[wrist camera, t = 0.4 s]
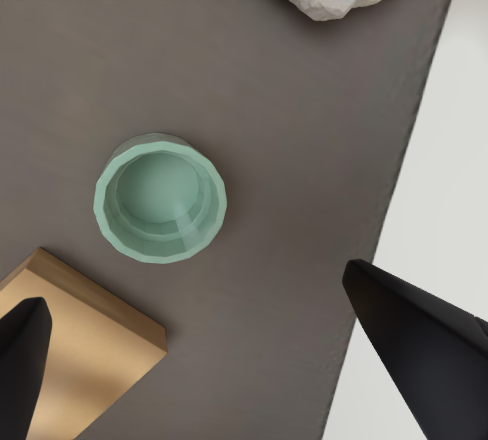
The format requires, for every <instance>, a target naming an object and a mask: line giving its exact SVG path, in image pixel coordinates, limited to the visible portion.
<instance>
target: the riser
mask: <svg viewBox="0 0 488 440" xmlns="http://www.w3.org/2000/svg"><path fill="white" fill-rule="evenodd" d="M31 297H43V298H44V299H45V300H46V303H47V306H48V308H49V311H50V314H51V317H52V322H53V325H52V332H51V338H50V343H49V349H48V355H47V361H46V366H45V372H44V377H43V382H42V387H41V390H40V394H39V397H38V401H37V404H36V407H35V411H34V414H33V417H32V421H31V424H30V428H29V431H28V434H27V438H26V440H73V439H75V438H76V437H77V436H78V435H79V434H80V433H81V432H82V431H83V430H84V429H86V428H87V427H88V426H89V425H90V424H91V423H92V422H93V421H94V420H95V419H96V418H98V417H99V416H100V415H101V414H102V413H103V412H104V411H105V410H106V409H107V408H108V407H110V406H111V405H112V404H113V403H114V402H115V401H116V400H117V399H118V398H119V397H121V396H122V395H123V394H124V393H125V392H126V391H127V390H128V389H129V388H130V387H131V386H133V385H134V384H135V383H136V382H137V381H138V380H139V379H140V378H141V377H142V376H143V375H145V374H146V373H147V372H148V371H149V370H150V369H151V368H152V367H153V366H154V365H155V364H157V363H158V362H159V361H160V360H161V359H162V358H163V357H164V356H165V355H166V354H167V353H168V350H167V342H166V333H165V328H164V327H162V326H161V325H159V324H158V323H156V322H155V321H153V320H152V319H150V318H149V317H147V316H145V315H144V314H142V313H141V312H139V311H138V310H136V309H135V308H133V307H132V306H130V305H128V304H127V303H125V302H124V301H122V300H121V299H119V298H118V297H116V296H115V295H113V294H111V293H110V292H108V291H107V290H105V289H104V288H102V287H101V286H99V285H98V284H96V283H94V282H93V281H91V280H90V279H88V278H87V277H85V276H84V275H82V274H81V273H79V272H77V271H76V270H74V269H73V268H71V267H70V266H68V265H67V264H65V263H64V262H62V261H60V260H59V259H57V258H56V257H54V256H53V255H51V254H50V253H48V252H47V251H45V250H43V249H42V248H40V247H38V248H37V249H36V250H35V251H34V252H33V253H32V254H31V255H30V256H29V257H27V258H26V259H25V260H24V261H23V262H22V263H21V264H20V265H19V266H18V267H17V268H16V269H15V270H14V271H12V272H11V273H10V274H9V275H8V276H7V277H6V278H5V279H4V280H3V281H2V282H1V283H0V319H1V318H2V317H3V316H4V315H5V314H6V313H8V312H9V311H10V310H11V309H12V308H14V307H15V306H16V305H17V304H18V303H19V302H21V301H22V300H23V299H25V298H31Z"/></svg>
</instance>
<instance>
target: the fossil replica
mask: <svg viewBox="0 0 488 440" xmlns="http://www.w3.org/2000/svg"><path fill="white" fill-rule="evenodd" d="M289 1H290V2H292V3H293V4H295V5H296V6H297V7H298V9H299V10H301V11H302V12H304V13H305V14H306V15H308V16H309V17H310V18H311V19H313V20H314V21H327V20H330V19H342V18H343V17H344V16H345V15H346V14H347V13H348V12H349V10H350V9H351V8H357V7H359V6H360V7H365V6H368V5H373V4H376V3H378V2H379V1H381V0H289Z"/></svg>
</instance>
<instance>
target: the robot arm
mask: <svg viewBox="0 0 488 440" xmlns="http://www.w3.org/2000/svg"><path fill="white" fill-rule="evenodd" d="M342 284H343V287H344V289H345V291H346V293H347V296H348V298H349V300H350V302H351V304H352V307H353V309H354V311H355V313H356V315H357V318H358V320H359V322H360V324H361V325H362V328H363V329H364V331H365V333H366V335H367V336H368V338H369V340H370V342H371V343H372V345H373V347H374V349H375V350H376V352H377V354H378V355H379V357H380V359H381V361H382V362H383V364H384V366H385V367H386V369H387V371H388V372H389V374H390V376H391V378H392V380H393V381H394V383H395V385H396V386H397V388H398V390H399V392H400V393H401V395H402V397H403V398H404V400H405V402H406V404H407V405H408V407H409V409H410V410H411V412H412V414H413V416H414V417H415V419H416V421H417V422H418V424H419V426H420V428H421V430H422V431H423V433H424V435H425V436H426V438H427V440H488V322H486V321H484V320H483V319H480V318H479V317H474V315H472V314H470V313H468V312H466V311H464V310H462V309H460V308H458V307H456V306H454V305H452V304H450V303H448V302H446V301H444V300H442V299H440V298H438V297H436V296H434V295H432V294H430V293H428V292H426V291H424V290H422V289H420V288H418V287H416V286H414V285H412V284H410V283H408V282H406V281H404V280H402V279H400V278H398V277H396V276H394V275H392V274H390V273H388V272H386V271H384V270H382V269H380V268H378V267H376V266H374V265H372V264H370V263H368V262H366V261H364V260H362V259H354V260H349V261H348V262H347V265H346V268H345V271H344V274H343V278H342ZM52 325H53V322H52V317H51V314H50V311H49V308H48V306H47V303H46V300H45V299H44V298H43V297H31V298H25V299H23V300H22V301H21V302H19V303H18V304H17V305H16V306H15V307H14V308H12V309H11V310H10V311H9V312H8V313H6V314H5V315H4V316H3V317H2V318H1V319H0V440H26V438H27V434H28V431H29V428H30V424H31V421H32V417H33V414H34V411H35V407H36V404H37V401H38V397H39V394H40V390H41V387H42V382H43V377H44V372H45V366H46V361H47V355H48V349H49V343H50V338H51V332H52Z"/></svg>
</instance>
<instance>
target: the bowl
mask: <svg viewBox="0 0 488 440" xmlns="http://www.w3.org/2000/svg"><path fill="white" fill-rule="evenodd" d="M226 208H227V200H226V193H225V186H224V182H223V180H222V178H221V177H220V175H219V173H218V172H217V170H216V169H215V167H214V165H213V164H212V162H211V161H210V160H209V159H207V158H206V157H205V156H204V155H203V154H202V153H201V152H200V151H198V150H197V149H196V148H195V147H193V146H192V145H190V144H189V143H188V142H186V141H185V140H183V139H182V138H180V137H176V136H172V135H168V134H164V133H160V132H159V133H150V134H144V135H137V136H135V137H133V138H131V139H130V140H128V141H127V142H125V143H123V144H122V145H120V146H119V147H117V149H115V151H114V152H113V154H112V155H111V157H110V158H109V160H108V161H107V163H106V165H105V166H104V168H103V171H102V173H101V175H100V177H99V179H98V181H97V184H96V190H95V198H94V206H93V209H94V213H95V216H96V219H97V222H98V225H99V227H100V230H101V233H102V234H103V235H104V236H105V237H106V239H107V240H108V241H109V242H110V243H111V244H112V245H113V246H114V247H115V248H116V249H117V250H118V251H119V252H121V253H123V254H125V255H127V256H129V257H132V258H134V259H136V260H138V261H140V262H147V263H160V264H168V263H172V262H176V261H179V260H183V259H187V258H190V257H191V256H193V255H194V254H196V253H197V252H199V251H200V250H202V249H203V248H205V247H206V246H208V245H209V244H210V242H211V241H212V239H213V238H214V237H215V235H216V234H217V233H218V231H219V230H220V228H221V227H222V224H223V220H224V216H225V212H226Z"/></svg>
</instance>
